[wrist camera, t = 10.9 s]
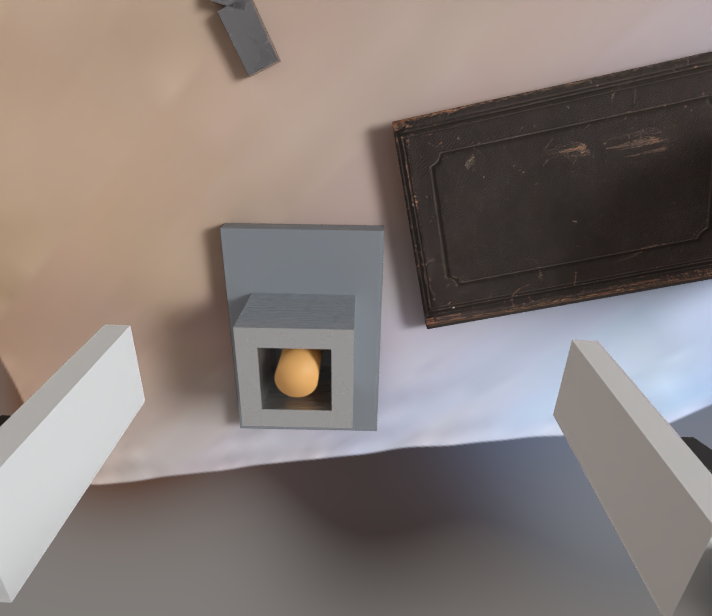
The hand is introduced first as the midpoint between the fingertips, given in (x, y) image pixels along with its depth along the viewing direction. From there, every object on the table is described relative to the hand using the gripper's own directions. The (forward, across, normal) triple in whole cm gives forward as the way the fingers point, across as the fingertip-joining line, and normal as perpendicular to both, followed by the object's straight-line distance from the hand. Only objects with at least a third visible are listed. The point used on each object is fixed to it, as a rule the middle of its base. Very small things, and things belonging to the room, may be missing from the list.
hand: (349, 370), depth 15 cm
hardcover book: (+24, +15, 0) cm, 29 cm away
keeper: (+23, -4, -12) cm, 26 cm away
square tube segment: (+22, -4, -12) cm, 25 cm away
